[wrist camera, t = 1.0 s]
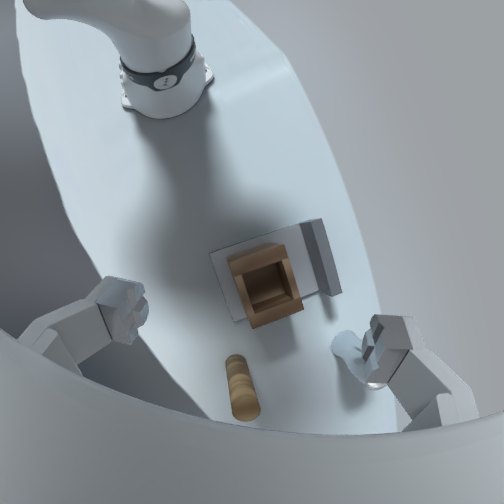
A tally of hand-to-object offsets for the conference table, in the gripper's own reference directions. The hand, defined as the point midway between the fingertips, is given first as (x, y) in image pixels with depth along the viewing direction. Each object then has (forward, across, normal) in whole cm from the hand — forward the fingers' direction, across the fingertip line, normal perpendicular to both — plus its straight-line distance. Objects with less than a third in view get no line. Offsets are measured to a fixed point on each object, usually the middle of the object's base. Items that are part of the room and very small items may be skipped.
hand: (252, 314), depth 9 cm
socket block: (+32, +4, +22) cm, 39 cm away
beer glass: (+32, -15, +36) cm, 51 cm away
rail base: (+34, +1, +21) cm, 41 cm away
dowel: (+25, +6, +37) cm, 45 cm away
